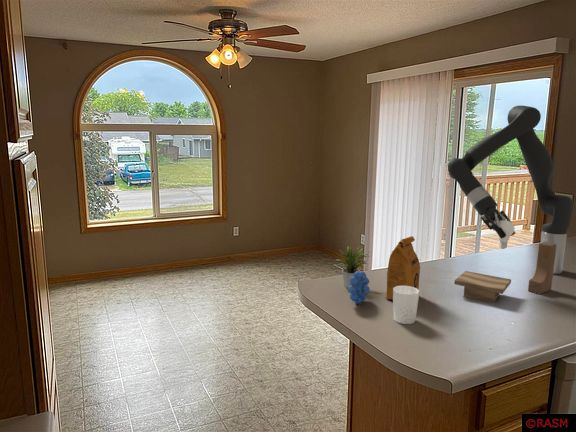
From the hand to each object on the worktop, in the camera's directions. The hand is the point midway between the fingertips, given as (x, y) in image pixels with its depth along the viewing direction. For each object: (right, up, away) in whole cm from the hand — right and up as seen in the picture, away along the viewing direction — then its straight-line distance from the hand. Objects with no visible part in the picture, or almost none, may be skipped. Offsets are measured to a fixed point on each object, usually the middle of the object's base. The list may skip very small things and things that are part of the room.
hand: (508, 235), depth 162 cm
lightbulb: (-1, -5, +2) cm, 6 cm away
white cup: (-46, -26, -26) cm, 59 cm away
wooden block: (+12, -21, +1) cm, 24 cm away
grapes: (-58, -23, -13) cm, 64 cm away
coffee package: (-42, -22, -7) cm, 48 cm away
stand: (-12, -22, -4) cm, 25 cm away
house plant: (-59, -20, +4) cm, 62 cm away
